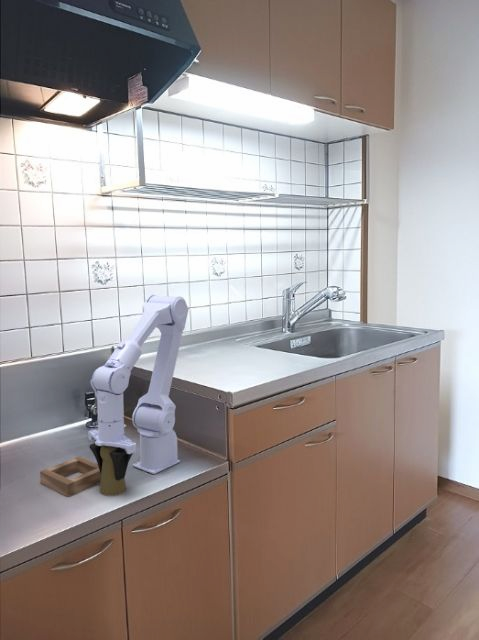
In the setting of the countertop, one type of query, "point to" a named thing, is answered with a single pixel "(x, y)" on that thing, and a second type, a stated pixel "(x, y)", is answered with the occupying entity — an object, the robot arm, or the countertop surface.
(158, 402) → the robot arm
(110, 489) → the olive rounded peg
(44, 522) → the countertop surface
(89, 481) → the socket block
